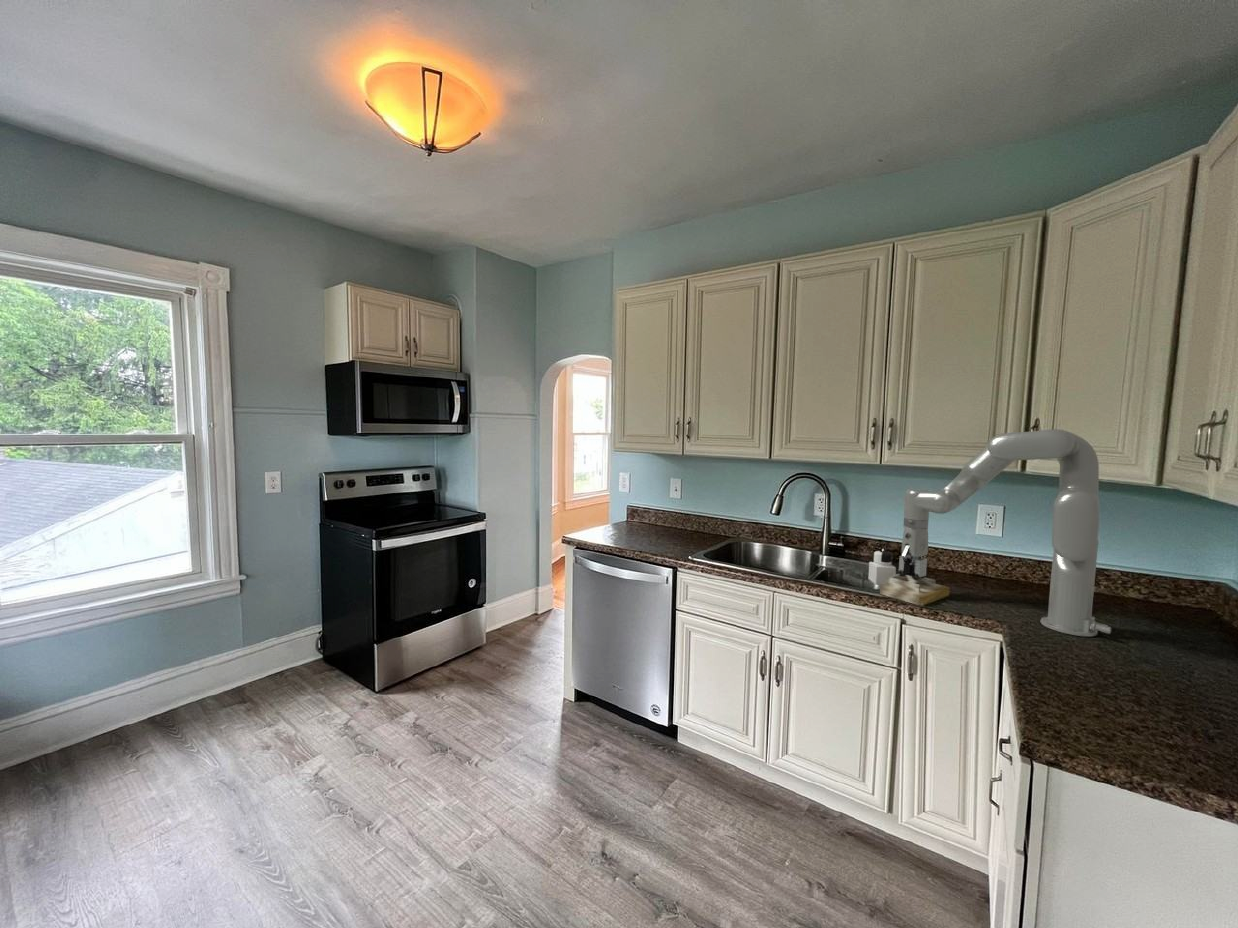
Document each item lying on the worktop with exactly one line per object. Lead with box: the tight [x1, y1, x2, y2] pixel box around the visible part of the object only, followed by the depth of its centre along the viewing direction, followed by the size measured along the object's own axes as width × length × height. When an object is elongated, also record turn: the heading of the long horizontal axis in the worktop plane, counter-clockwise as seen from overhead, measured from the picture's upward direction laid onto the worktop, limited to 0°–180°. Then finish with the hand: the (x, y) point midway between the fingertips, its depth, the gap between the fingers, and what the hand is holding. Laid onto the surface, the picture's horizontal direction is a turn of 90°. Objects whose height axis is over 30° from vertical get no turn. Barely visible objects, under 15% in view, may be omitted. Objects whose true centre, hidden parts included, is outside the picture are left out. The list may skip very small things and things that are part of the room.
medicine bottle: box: [868, 550, 897, 586], centre depth 190 cm, size 7×7×12 cm
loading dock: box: [879, 573, 951, 607], centre depth 176 cm, size 14×20×6 cm
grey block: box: [898, 554, 928, 580], centre depth 177 cm, size 7×5×7 cm
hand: (912, 573), depth 177 cm, fingers closed on grey block, 5 cm apart
